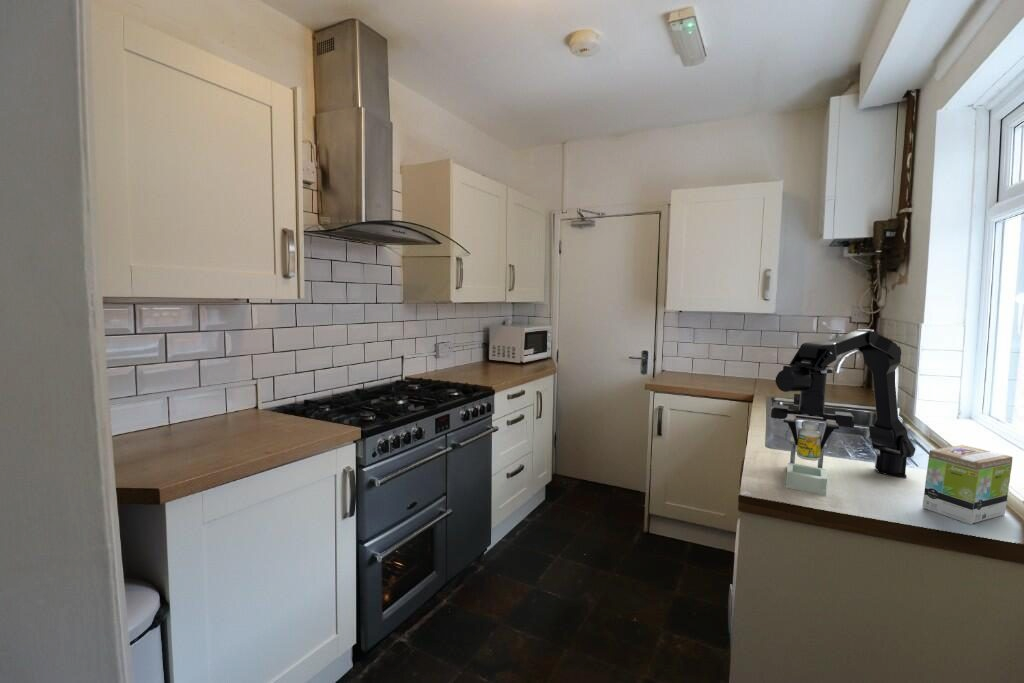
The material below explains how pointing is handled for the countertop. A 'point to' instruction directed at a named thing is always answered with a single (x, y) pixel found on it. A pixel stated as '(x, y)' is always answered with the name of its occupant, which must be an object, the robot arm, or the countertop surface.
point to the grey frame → (793, 450)
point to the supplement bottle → (809, 441)
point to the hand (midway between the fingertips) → (808, 446)
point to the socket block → (806, 478)
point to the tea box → (967, 483)
